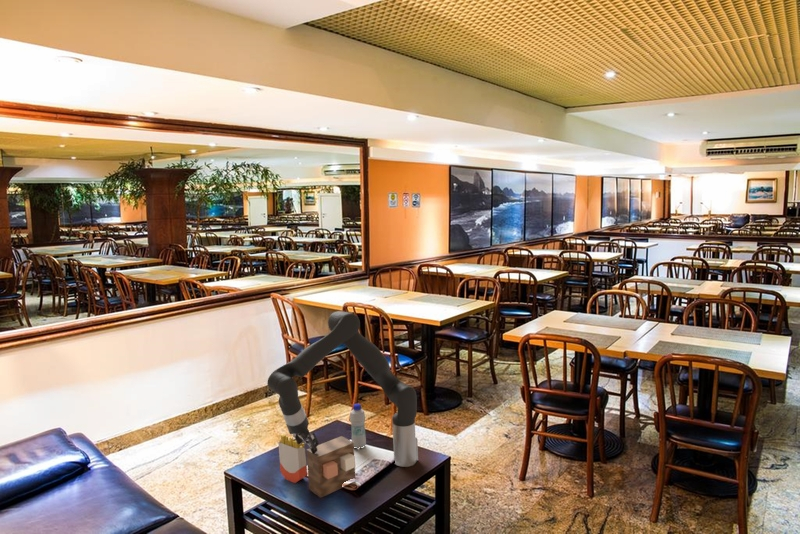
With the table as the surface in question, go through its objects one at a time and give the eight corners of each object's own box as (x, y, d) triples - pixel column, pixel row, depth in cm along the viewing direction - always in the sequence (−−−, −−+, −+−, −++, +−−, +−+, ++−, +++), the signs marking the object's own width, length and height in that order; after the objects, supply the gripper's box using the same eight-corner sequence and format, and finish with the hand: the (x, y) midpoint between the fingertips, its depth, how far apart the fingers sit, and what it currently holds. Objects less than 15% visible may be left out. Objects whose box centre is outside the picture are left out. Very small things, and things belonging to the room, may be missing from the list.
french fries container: (289, 472, 214) (286, 430, 211) (308, 479, 207) (305, 436, 205) (280, 477, 210) (277, 434, 208) (299, 485, 204) (296, 441, 201)
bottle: (369, 447, 233) (367, 403, 230) (357, 452, 228) (355, 408, 226) (360, 442, 238) (358, 399, 235) (348, 447, 233) (346, 404, 231)
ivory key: (349, 463, 203) (348, 452, 203) (355, 467, 200) (354, 456, 200) (339, 467, 201) (339, 456, 200) (345, 471, 198) (345, 460, 197)
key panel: (343, 474, 211) (341, 436, 209) (355, 481, 205) (353, 442, 203) (309, 489, 200) (306, 449, 198) (320, 497, 194) (317, 456, 192)
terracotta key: (331, 470, 198) (331, 459, 198) (337, 474, 195) (337, 463, 195) (321, 475, 195) (321, 464, 195) (327, 479, 192) (327, 467, 192)
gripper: (315, 417, 188) (327, 448, 196) (290, 403, 196) (302, 432, 205) (300, 432, 183) (312, 462, 191) (275, 416, 192) (288, 446, 200)
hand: (307, 447), depth 198 cm, fingers open, 8 cm apart
